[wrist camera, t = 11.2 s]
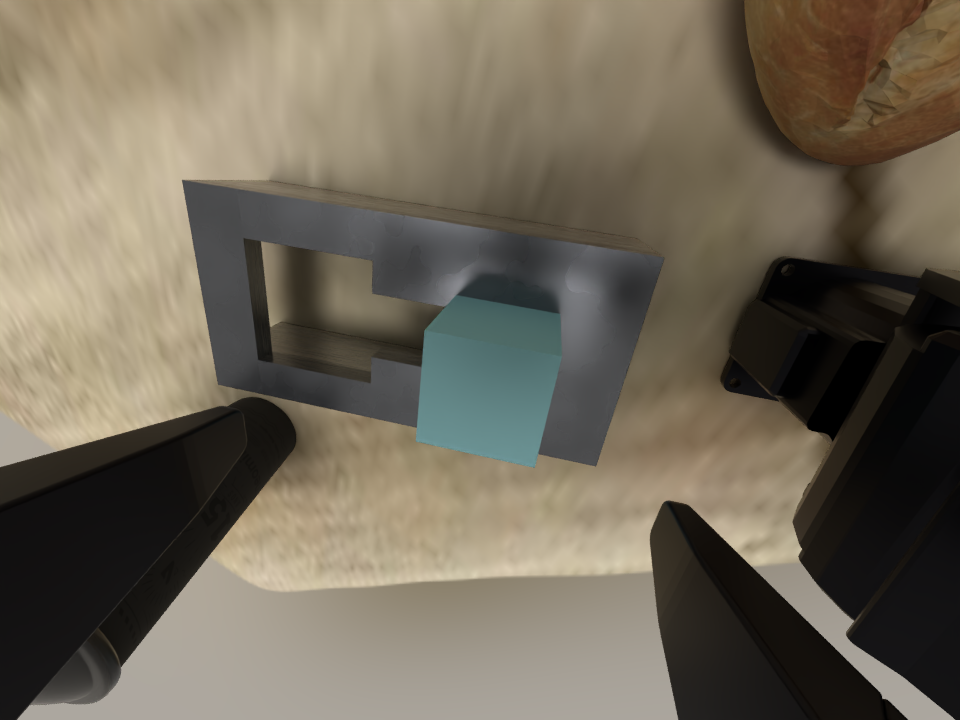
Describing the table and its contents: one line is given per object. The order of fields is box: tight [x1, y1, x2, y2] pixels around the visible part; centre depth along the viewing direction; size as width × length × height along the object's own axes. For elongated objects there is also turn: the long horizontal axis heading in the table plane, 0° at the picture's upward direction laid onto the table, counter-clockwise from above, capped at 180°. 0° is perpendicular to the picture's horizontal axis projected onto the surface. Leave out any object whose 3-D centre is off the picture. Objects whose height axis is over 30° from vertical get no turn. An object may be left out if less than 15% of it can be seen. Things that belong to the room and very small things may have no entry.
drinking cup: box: [30, 398, 296, 705], centre depth 17 cm, size 8×8×20 cm
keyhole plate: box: [182, 180, 664, 466], centre depth 18 cm, size 18×9×5 cm, turn 82°
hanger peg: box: [416, 295, 562, 468], centre depth 16 cm, size 4×4×8 cm
